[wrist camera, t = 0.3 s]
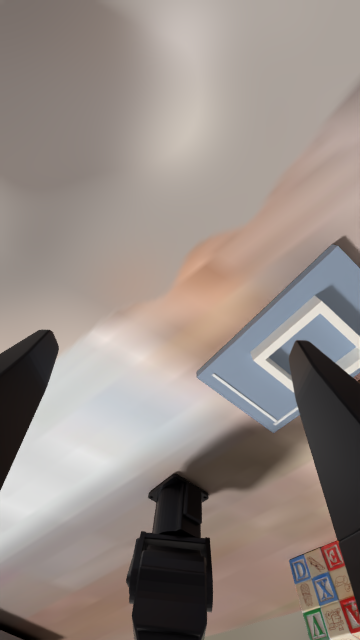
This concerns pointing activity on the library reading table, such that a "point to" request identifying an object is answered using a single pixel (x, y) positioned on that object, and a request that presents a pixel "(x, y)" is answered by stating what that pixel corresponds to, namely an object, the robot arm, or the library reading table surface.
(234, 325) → the library reading table surface
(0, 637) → the organizer tray
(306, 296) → the blueprint board
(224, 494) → the library reading table surface
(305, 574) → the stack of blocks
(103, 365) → the library reading table surface
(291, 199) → the library reading table surface
